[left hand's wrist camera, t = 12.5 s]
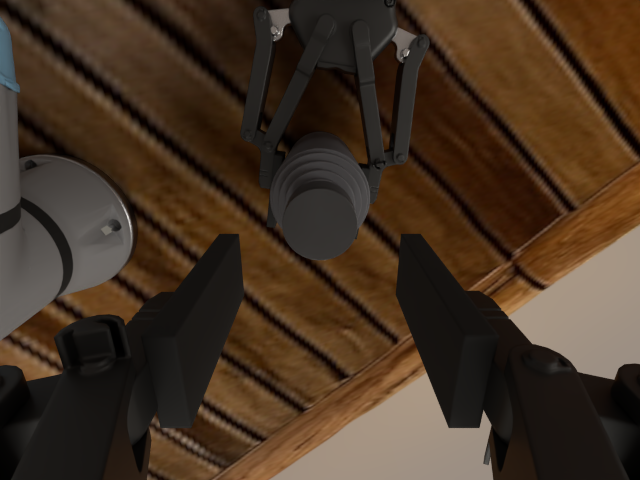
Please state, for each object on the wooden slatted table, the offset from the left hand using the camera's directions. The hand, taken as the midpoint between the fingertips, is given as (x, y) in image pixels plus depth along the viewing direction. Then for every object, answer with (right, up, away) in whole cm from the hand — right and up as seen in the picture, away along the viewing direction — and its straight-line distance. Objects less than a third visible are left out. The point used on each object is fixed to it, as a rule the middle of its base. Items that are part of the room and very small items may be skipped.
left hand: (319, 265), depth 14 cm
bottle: (0, +9, +24) cm, 25 cm away
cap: (0, +2, +5) cm, 5 cm away
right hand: (-1, +2, +19) cm, 20 cm away
